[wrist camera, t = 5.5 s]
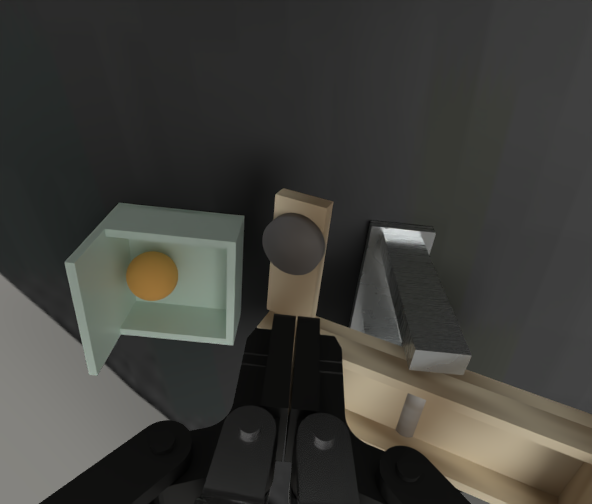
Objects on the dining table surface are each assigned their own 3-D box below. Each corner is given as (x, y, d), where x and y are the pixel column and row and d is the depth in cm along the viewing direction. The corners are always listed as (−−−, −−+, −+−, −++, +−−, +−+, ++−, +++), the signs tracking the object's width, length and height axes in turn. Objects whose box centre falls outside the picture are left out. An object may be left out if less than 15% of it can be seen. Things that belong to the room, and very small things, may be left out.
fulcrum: (347, 329, 32) (360, 470, 23) (370, 220, 27) (398, 340, 18) (400, 335, 32) (435, 477, 23) (433, 226, 28) (493, 350, 18)
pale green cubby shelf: (118, 202, 28) (64, 262, 22) (244, 215, 28) (224, 278, 22) (131, 302, 32) (89, 374, 26) (240, 312, 32) (223, 387, 26)
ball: (184, 262, 27) (168, 238, 29) (130, 274, 25) (117, 247, 27) (186, 303, 28) (170, 277, 31) (135, 316, 27) (123, 288, 29)
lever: (266, 368, 26) (236, 410, 23) (281, 185, 20) (243, 213, 17) (569, 493, 21) (577, 565, 18) (715, 301, 15) (760, 367, 12)
